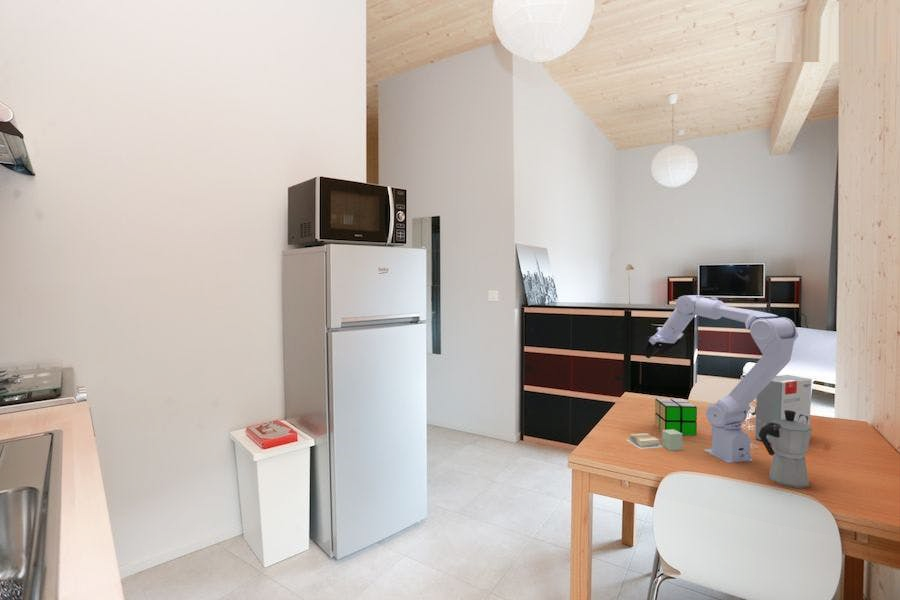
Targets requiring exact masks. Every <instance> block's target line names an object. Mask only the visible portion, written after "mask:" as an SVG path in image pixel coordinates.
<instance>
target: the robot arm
mask: <svg viewBox="0 0 900 600" xmlns="http://www.w3.org/2000/svg"><path fill="white" fill-rule="evenodd" d="M675 306H676V307H675V308H674V310H673V311H672V313H671V314H670V315H669V317H668V319H667V320H666V321H665V322H664V324H663V325H662V327H660V326H659V327H657V328H656V331H657V332H656V333H655V334H654V335H649V336H647V337H646V339H645V340H646V346H645V350H644V353H643V356H644V357H645V358H646V359H650V358H652V357H653V355H655V354H656V353H657V352H659V353H660V354H661V355H662V356H663V355H666V354H667V353H668V352H669V351H670V350H672V349H673V348H675V347H677V346H678V345H681V344H682V341H681V340H680V339H681V338H682V337H684V333H683V332H684V330H685V329H686V328H687V326H688V325H689V324H690V322H691V321H692V320H693V318H694V317H695V316H699V317H703V318H707V319H710V320H719V319H721V318H725V319H729V320H733V321H737V322H741V323H744V325H745V329H746V330H749V332H750V335H751V338H752V339H753V341H754V343H755V344H756V346H757V347H758V349H759V350H760V352H761V354H762V356H761V357H760V358H759V359H758V361H757V362H756V363H755V364H754V365H753V366H752V367H751V369H750V370H749V371H748V372H747V373H746V374H745V375H744V377H743V378H741V379H740V381H739V382H737V384H736V385H735V387H734V388H733V389H732V390H731V391H730V392H729V393H728V394H727V395H725V396H723V397H722V398H720V399H718V400H717V402H716V403H713V404H710V405H708V406H707V407H706V410H705V415H706V418H707V420H708V422H709V423H710V425H711V448H710V449H709V448H708V449H704V452H706V453H709V454H710V455H712V456H714V457H717V458H718V459H719V460H722V461H724V462H725V463H730V464H731V463H740V462H741V463H742V462H753V461H754V460H753V459H752V458H751V438H750V436H749V435H748V433H747V432H746V433H745V432H744V430H743V429H742V426H743V422H745V420H746V419H747V417H748V412H749V411H750V410H751V406H750V405H751V403H752V402H753V401H754V400H755V399H757V396H758V394H759V393H760V392H761V391H762V390H763V389H764V388H765V387H766V386H767V385H768V384H769V383H770V382H771V381H772V380H773V379H774V378H775V377H776V376H778V375H779V374H780V373H781V372H782V371H783V369H784V368H785V367H786V366H787V365H788V364H789V363H790V361H791V358H792V353H793V349H794V345H795V341H796V340H797V339H798V338H799V333H798V329H797V326H796V324H795V322H794V321H793V320H792V319H790V318H788V317H783V316H781V317H780V316H778V315H777V314H773V313H769V312H765V311H761V310H760V311H759V310H754V309H748V308H747V309H746V308H740V307H734V306H728V305H726V304H725V303H724V302H723V301H722V300H720V299H718V297H710V298H709V297H703V296H702V294H701V295H698V294H697V295H696V294H694V295H691V294H690V295H689V294H688V295H687V294H686V295H682V296H679V297H678V298H677V299H676V301H675ZM660 343H661V345H660Z"/></svg>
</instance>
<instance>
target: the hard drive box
mask: <svg viewBox="0 0 900 600" xmlns="http://www.w3.org/2000/svg"><path fill="white" fill-rule="evenodd" d="M812 381H813V379H812V378H806V377H802V376H796V375H791V374H781V375H776V377H775V378H774V379H773V380H772V381H771V382H770V383H769V384H768V385H767V386H766V387H765V388H764V389H763V390H762V391H761V392H760V393H759V394H758V396H757V397H756V403H755V406H756V407H755V422H754V423H755V424H754V425H755V426H754V439H757V440H759V441H762V440H761V438H760V437H759V433H760V430H761V428H762V427H764V426H766V424H767V423H769V422H770V421H772V420H782V419H786V418H785V413H784V411H785V410H790V411H794V412H796V414H795V418H794V421H797V422H800V423H803V424H806V425H810V426H811V406H812V405H811V402H812ZM766 438H767V440H768V441H769V443H770V445H772V443H771V436H770V435H768V434H767V436H766Z"/></svg>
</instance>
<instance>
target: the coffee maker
mask: <svg viewBox="0 0 900 600" xmlns="http://www.w3.org/2000/svg"><path fill="white" fill-rule="evenodd" d="M784 413H785V418H786V419H782V420H772V421H770V422H769V423H767V424H766V426H764V427H762V428H761V430H760V433H759V437H760V438H761V440H760V441H761V442H762V444H763V446H764V447H765V450H766V451H767V453H768V454H769V455H770V456H772V458H771V465H770V470H769V473H768V475H769V476H768V479H769V480H770V479H771V481H772V480H773V481H772V482H774V481H775V483H776V482H777V484H778V483H779V485H780V484H782V485H781V486H785V487H790V488H795V489H803V488H810V484H809V483H810V482H809V477H808V476H809V475H808V470H807V463H806V458H805V454H806V453H808V451H809V446H810V442H811V441H810V440H811V435H812V430H813V428H812V425H811V424H810V425H806V424H803V423H800V422H797V421H794V418H795V414H796V412H794V411H790V410H785V411H784ZM767 434H768V435H770V436H771V443H772V444H771V443H769V441H768V440H767V438H766V436H767ZM773 448H774V449H773Z"/></svg>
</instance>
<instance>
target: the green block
mask: <svg viewBox="0 0 900 600" xmlns="http://www.w3.org/2000/svg"><path fill="white" fill-rule="evenodd" d="M661 446H663V447H662V448H664V449H667V450H668V451H669V452H672V451H683V435H682V433H680V432H678V431H676V430H674V429H670V430H662V431H661Z"/></svg>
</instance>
